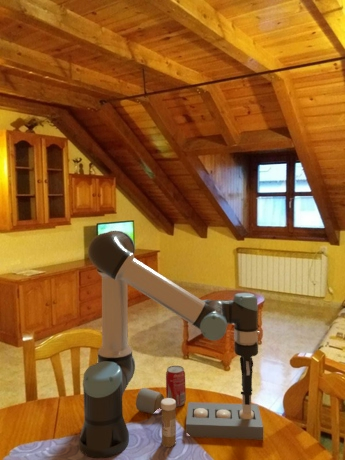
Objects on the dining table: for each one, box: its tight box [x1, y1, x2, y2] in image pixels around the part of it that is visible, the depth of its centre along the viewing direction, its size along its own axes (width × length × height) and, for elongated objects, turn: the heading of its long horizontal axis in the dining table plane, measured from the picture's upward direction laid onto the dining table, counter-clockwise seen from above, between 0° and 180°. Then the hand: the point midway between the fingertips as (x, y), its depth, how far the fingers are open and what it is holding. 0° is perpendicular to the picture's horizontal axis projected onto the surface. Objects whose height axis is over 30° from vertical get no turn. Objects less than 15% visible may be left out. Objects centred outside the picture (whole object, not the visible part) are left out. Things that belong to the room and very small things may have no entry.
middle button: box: [216, 410, 231, 419], centre depth 130 cm, size 5×5×3 cm
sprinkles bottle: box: [161, 397, 177, 448], centre depth 120 cm, size 5×5×14 cm
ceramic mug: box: [135, 387, 165, 415], centre depth 141 cm, size 11×8×8 cm
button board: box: [185, 401, 264, 440], centre depth 130 cm, size 24×14×4 cm, turn 85°
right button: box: [239, 410, 254, 419], centre depth 129 cm, size 5×5×3 cm
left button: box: [194, 408, 208, 418], centre depth 130 cm, size 5×5×3 cm
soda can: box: [165, 365, 187, 408], centre depth 145 cm, size 7×7×13 cm
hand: (246, 411), depth 129 cm, fingers closed
